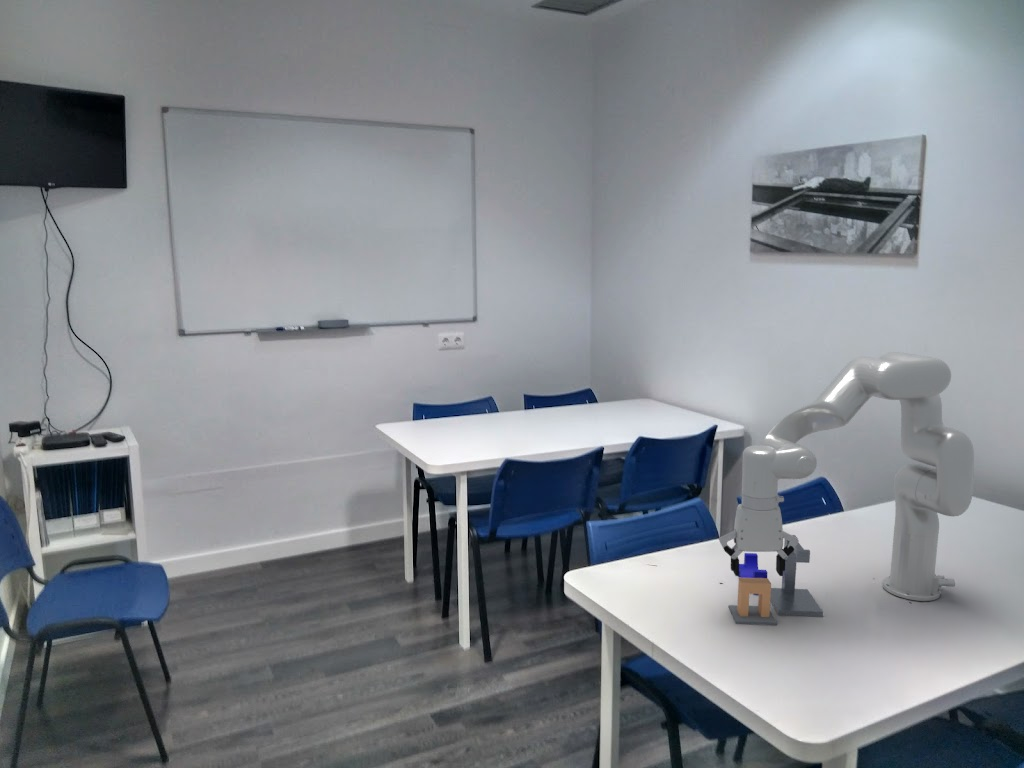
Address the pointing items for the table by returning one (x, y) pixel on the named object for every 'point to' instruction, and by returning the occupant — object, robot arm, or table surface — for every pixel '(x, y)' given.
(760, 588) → the c link
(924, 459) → the robot arm
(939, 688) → the table surface
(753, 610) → the mat
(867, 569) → the table surface
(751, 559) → the blue toy block
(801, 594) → the stand
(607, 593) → the table surface
